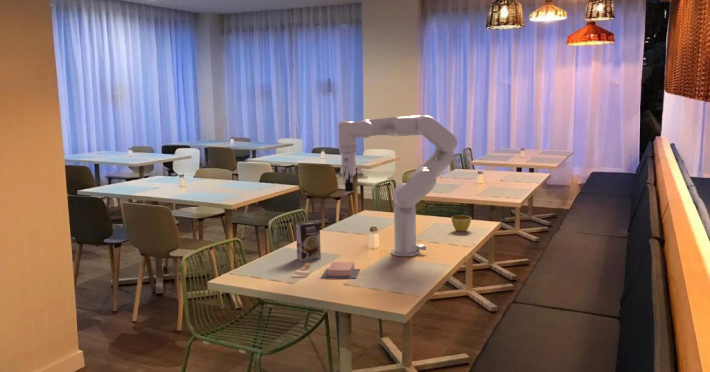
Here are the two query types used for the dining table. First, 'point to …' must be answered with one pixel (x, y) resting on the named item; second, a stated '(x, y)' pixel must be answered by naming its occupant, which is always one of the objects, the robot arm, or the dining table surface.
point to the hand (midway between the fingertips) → (349, 191)
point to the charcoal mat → (353, 276)
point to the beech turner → (302, 272)
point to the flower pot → (461, 222)
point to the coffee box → (308, 240)
